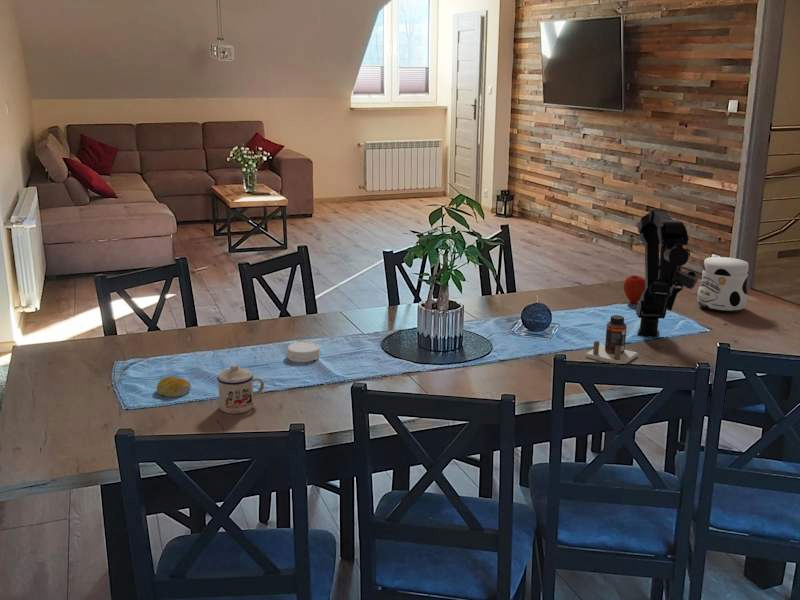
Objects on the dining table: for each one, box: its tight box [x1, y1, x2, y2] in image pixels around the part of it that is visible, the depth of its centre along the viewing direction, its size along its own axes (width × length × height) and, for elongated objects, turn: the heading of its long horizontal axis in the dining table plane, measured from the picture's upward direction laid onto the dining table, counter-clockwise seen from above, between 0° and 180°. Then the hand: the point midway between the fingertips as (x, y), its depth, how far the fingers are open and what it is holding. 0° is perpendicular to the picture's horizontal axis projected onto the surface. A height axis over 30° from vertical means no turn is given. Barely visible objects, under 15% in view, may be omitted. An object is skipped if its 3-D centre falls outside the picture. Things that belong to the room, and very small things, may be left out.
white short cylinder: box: [286, 341, 321, 363], centre depth 246 cm, size 10×10×4 cm
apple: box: [623, 274, 645, 304], centre depth 304 cm, size 9×8×11 cm
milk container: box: [696, 256, 750, 313], centre depth 297 cm, size 17×17×18 cm
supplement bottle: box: [604, 314, 627, 354], centre depth 249 cm, size 6×6×11 cm
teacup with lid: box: [216, 364, 265, 415], centre depth 209 cm, size 12×9×12 cm
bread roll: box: [156, 376, 192, 398], centre depth 219 cm, size 8×9×4 cm
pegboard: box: [585, 340, 638, 364], centre depth 249 cm, size 11×12×5 cm
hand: (665, 312), depth 250 cm, fingers open, 9 cm apart
